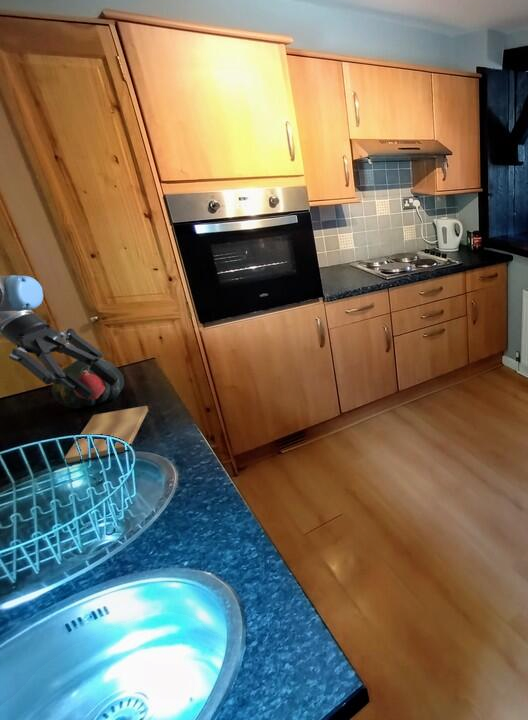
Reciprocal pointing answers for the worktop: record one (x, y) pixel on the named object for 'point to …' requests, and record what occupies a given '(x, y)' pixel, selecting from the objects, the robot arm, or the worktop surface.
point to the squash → (75, 401)
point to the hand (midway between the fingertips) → (103, 388)
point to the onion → (92, 384)
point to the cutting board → (109, 431)
